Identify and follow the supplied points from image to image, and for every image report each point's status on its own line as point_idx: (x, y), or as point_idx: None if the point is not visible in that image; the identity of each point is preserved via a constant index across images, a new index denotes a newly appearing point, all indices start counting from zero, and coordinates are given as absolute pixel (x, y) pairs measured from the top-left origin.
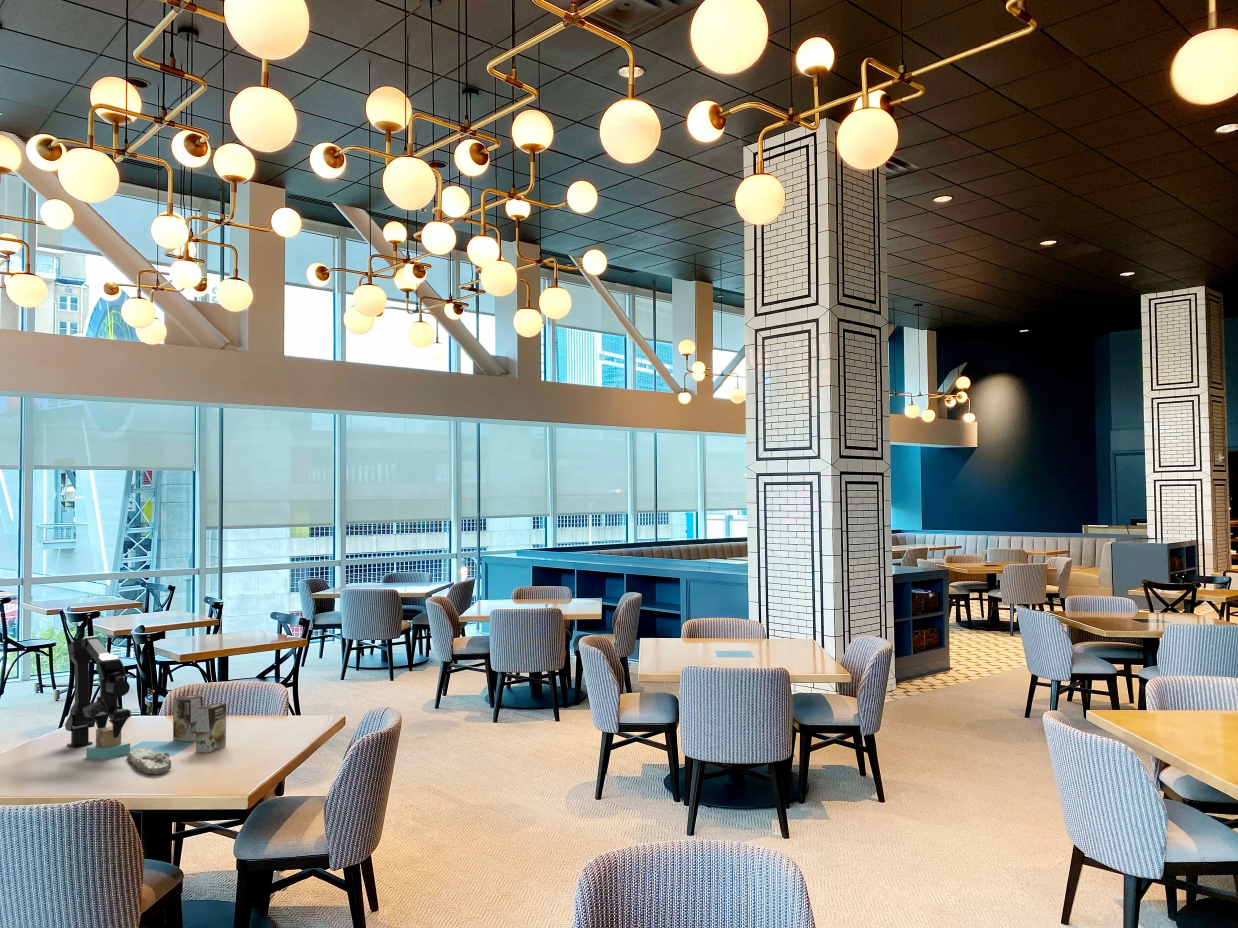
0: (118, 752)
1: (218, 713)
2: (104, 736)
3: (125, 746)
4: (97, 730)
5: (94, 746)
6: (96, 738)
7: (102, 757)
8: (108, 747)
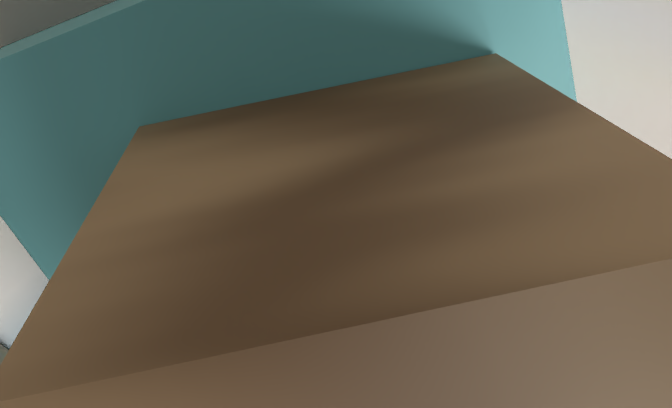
0: None
1: None
2: (63, 268)
3: None
4: (625, 233)
5: (463, 14)
6: (546, 105)
7: (45, 30)
8: None
